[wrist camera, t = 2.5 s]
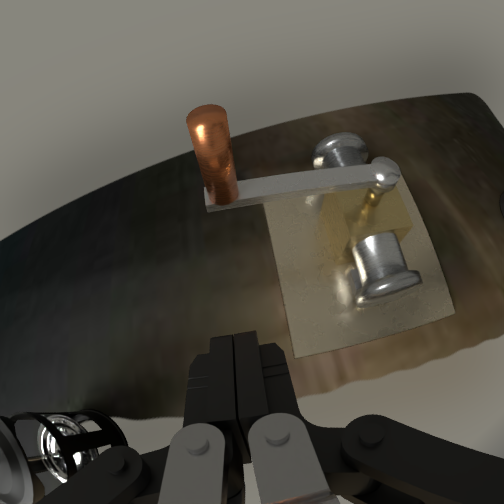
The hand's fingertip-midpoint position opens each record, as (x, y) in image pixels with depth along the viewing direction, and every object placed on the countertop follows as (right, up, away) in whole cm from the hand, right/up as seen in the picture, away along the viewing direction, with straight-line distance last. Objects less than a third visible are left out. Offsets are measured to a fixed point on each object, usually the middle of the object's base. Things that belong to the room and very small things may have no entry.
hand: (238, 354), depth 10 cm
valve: (+13, +4, +26) cm, 29 cm away
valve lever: (+5, +9, +15) cm, 18 cm away
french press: (-18, -20, +17) cm, 32 cm away
